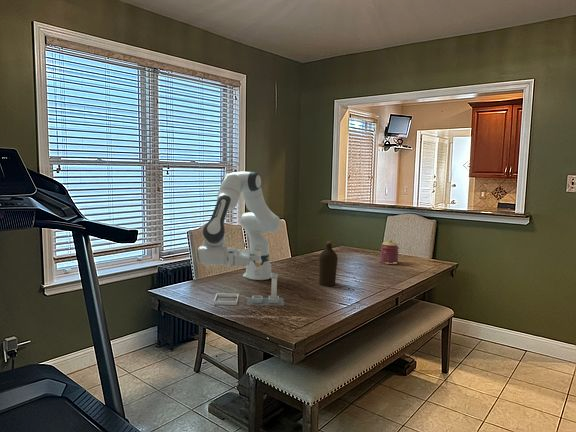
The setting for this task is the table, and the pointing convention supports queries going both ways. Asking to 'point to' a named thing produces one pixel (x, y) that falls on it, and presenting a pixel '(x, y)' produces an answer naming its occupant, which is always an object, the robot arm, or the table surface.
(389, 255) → the canister
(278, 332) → the table surface
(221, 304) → the tray
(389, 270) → the table surface
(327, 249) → the olive oil
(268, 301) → the fuse board
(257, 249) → the cylinder
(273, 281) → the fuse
